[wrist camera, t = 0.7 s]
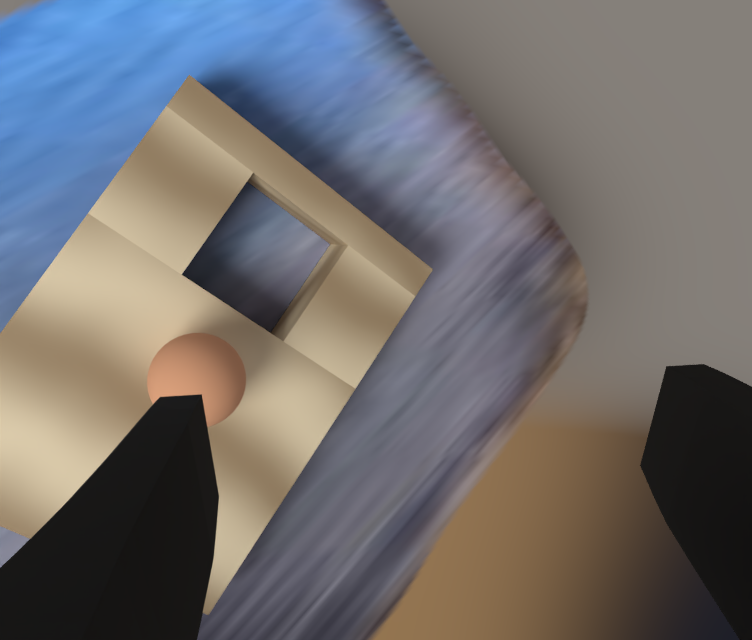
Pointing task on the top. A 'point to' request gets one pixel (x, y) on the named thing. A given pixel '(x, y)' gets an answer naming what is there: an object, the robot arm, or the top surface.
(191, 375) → the ball
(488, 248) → the top surface
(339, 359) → the beige flat board
